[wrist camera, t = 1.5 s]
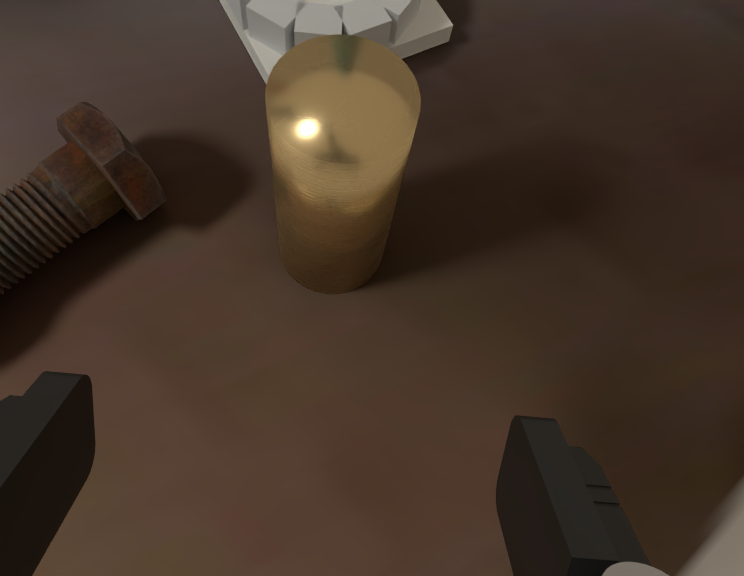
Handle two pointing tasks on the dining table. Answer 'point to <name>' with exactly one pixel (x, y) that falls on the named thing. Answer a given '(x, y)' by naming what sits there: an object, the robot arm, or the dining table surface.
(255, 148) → the dining table surface
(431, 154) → the dining table surface
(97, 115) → the bolt
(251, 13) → the seat block
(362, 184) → the cylinder
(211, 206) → the dining table surface
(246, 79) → the dining table surface
